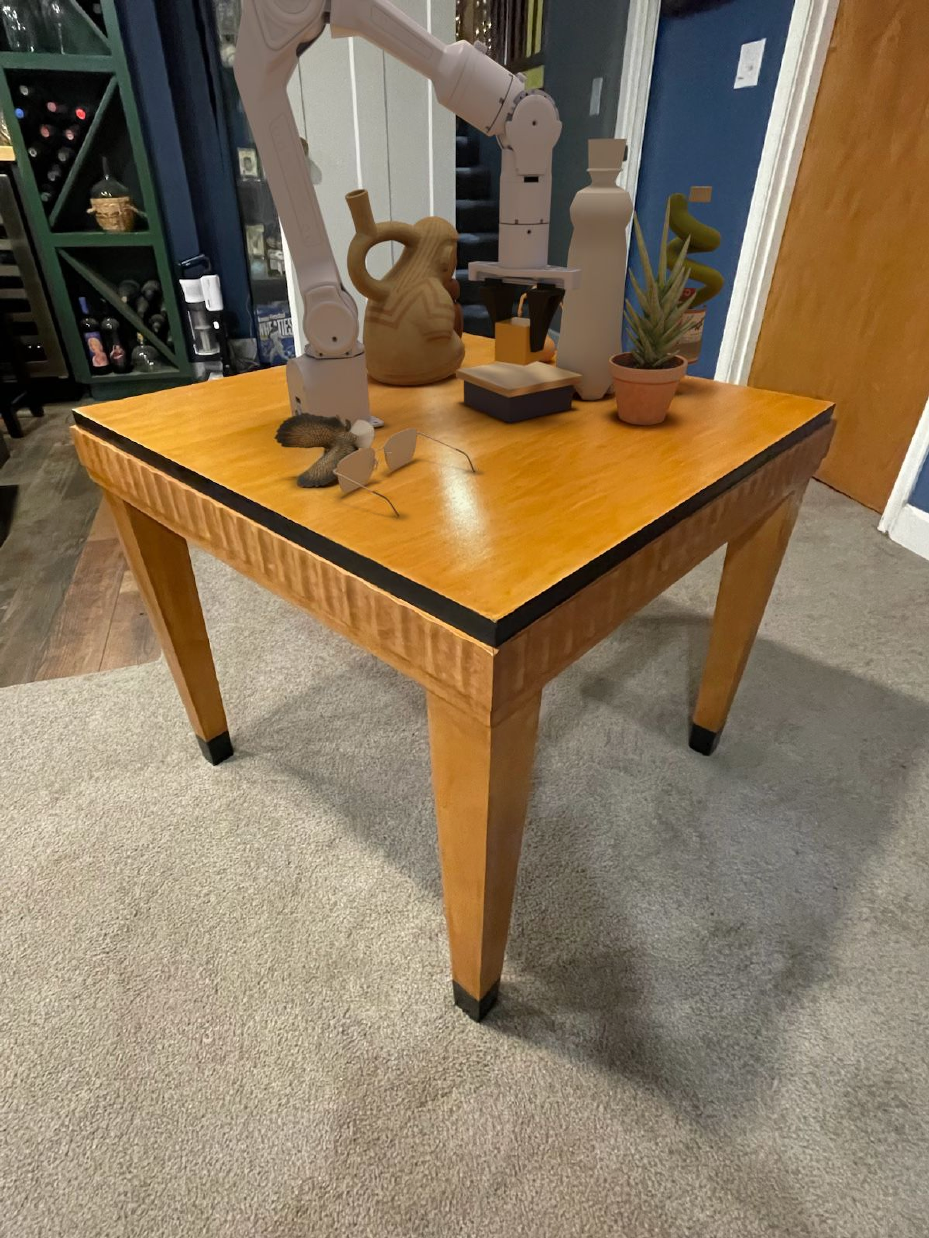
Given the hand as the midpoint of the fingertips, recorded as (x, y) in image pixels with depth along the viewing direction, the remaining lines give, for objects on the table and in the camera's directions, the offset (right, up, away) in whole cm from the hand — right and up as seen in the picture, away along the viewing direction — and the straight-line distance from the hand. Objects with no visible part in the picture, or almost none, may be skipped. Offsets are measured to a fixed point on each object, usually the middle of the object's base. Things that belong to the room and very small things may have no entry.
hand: (519, 348), depth 86 cm
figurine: (+6, +10, +30) cm, 32 cm away
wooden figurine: (-10, +16, +39) cm, 43 cm away
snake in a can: (+22, 0, +15) cm, 27 cm away
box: (0, -5, +8) cm, 9 cm away
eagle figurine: (-21, -18, -11) cm, 30 cm away
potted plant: (+16, -8, +3) cm, 18 cm away
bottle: (+10, -1, +13) cm, 17 cm away
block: (0, -1, +1) cm, 1 cm away
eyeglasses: (-13, -20, -15) cm, 28 cm away
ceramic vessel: (-16, +4, +22) cm, 27 cm away
